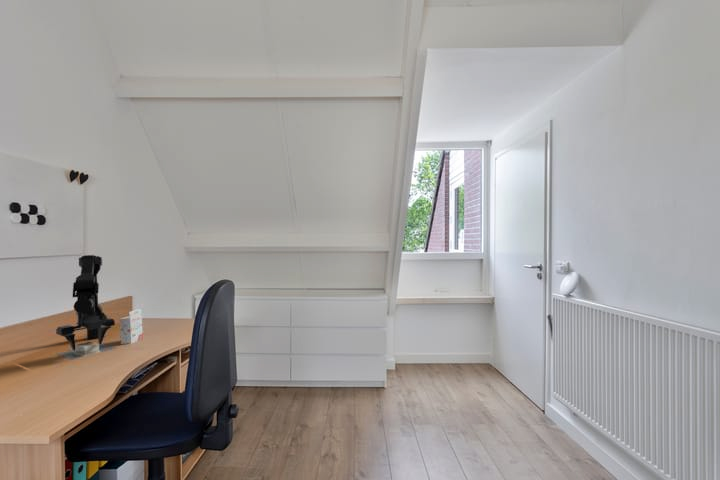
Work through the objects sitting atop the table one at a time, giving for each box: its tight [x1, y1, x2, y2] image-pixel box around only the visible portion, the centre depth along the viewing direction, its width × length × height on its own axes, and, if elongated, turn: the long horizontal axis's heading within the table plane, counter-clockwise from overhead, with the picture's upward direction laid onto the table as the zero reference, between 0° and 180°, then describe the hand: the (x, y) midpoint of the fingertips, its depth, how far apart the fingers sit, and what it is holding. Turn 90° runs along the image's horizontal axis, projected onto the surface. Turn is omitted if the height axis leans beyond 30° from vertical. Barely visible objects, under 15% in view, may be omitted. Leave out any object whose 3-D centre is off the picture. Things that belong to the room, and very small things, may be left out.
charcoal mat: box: [56, 343, 117, 360], centre depth 151 cm, size 15×16×1 cm
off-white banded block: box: [75, 341, 99, 356], centre depth 148 cm, size 5×8×3 cm, turn 60°
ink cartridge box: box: [119, 308, 144, 345], centre depth 164 cm, size 9×5×15 cm, turn 179°
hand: (87, 347), depth 148 cm, fingers open, 9 cm apart
